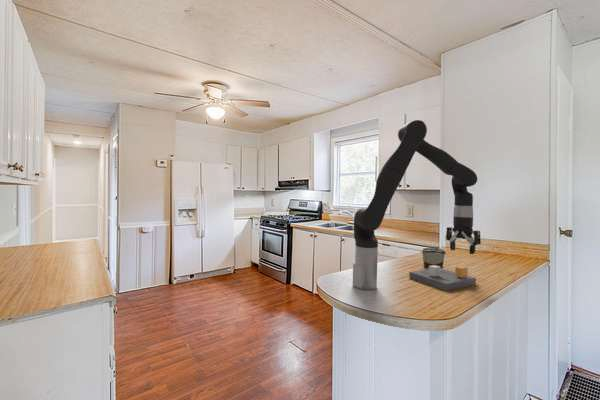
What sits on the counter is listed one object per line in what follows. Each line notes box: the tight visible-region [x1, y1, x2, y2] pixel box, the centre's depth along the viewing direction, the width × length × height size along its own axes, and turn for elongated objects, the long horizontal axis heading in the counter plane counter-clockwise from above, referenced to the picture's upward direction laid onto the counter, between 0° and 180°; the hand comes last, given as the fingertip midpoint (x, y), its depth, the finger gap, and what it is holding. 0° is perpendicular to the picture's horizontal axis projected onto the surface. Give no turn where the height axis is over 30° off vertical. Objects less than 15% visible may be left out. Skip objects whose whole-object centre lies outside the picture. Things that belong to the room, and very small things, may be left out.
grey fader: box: [428, 265, 441, 277], centre depth 124 cm, size 4×3×4 cm
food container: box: [421, 247, 447, 269], centre depth 152 cm, size 12×6×10 cm, turn 84°
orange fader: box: [454, 265, 469, 278], centre depth 124 cm, size 4×3×4 cm
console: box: [408, 268, 477, 292], centre depth 127 cm, size 20×19×3 cm
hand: (462, 252), depth 124 cm, fingers open, 8 cm apart
